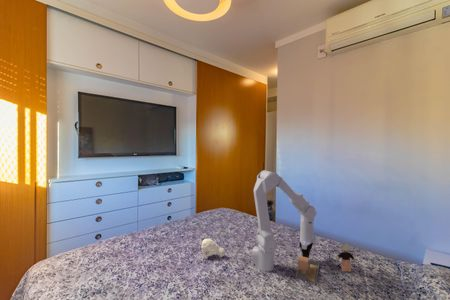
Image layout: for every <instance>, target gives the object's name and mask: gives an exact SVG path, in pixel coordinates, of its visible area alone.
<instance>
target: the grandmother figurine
mask: <svg viewBox="0 0 450 300" xmlns="http://www.w3.org/2000/svg"><path fill="white" fill-rule="evenodd" d="M341 249H342V252H339V253H338V254H337V256H336V261H339V260H340V259H341V271H342V272H344V273H346V272H347V273H351V272H352V263H351V260H352V262H353V263H356V260H355V257H354V255H353V254H352V253H351V252H350V250H351V247H350V245H349V243H343V244H342V245H341Z"/></svg>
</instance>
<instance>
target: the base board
mask: <svg viewBox="0 0 450 300" xmlns="http://www.w3.org/2000/svg"><path fill="white" fill-rule="evenodd" d="M310 264H312V265H316V266H317V271H316V277H315V282H312V281H308V280H307V276H308V271H307V272H306V274H303V273H299V269H298V268H297V271H296V274H295V278H296V279H299V280H303V281H306V282H309V283H313V284H317V281H318V276H319V270H320V269H319V268H320V264H321V261H314V260H312V259H311V258H309V268H310Z"/></svg>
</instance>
